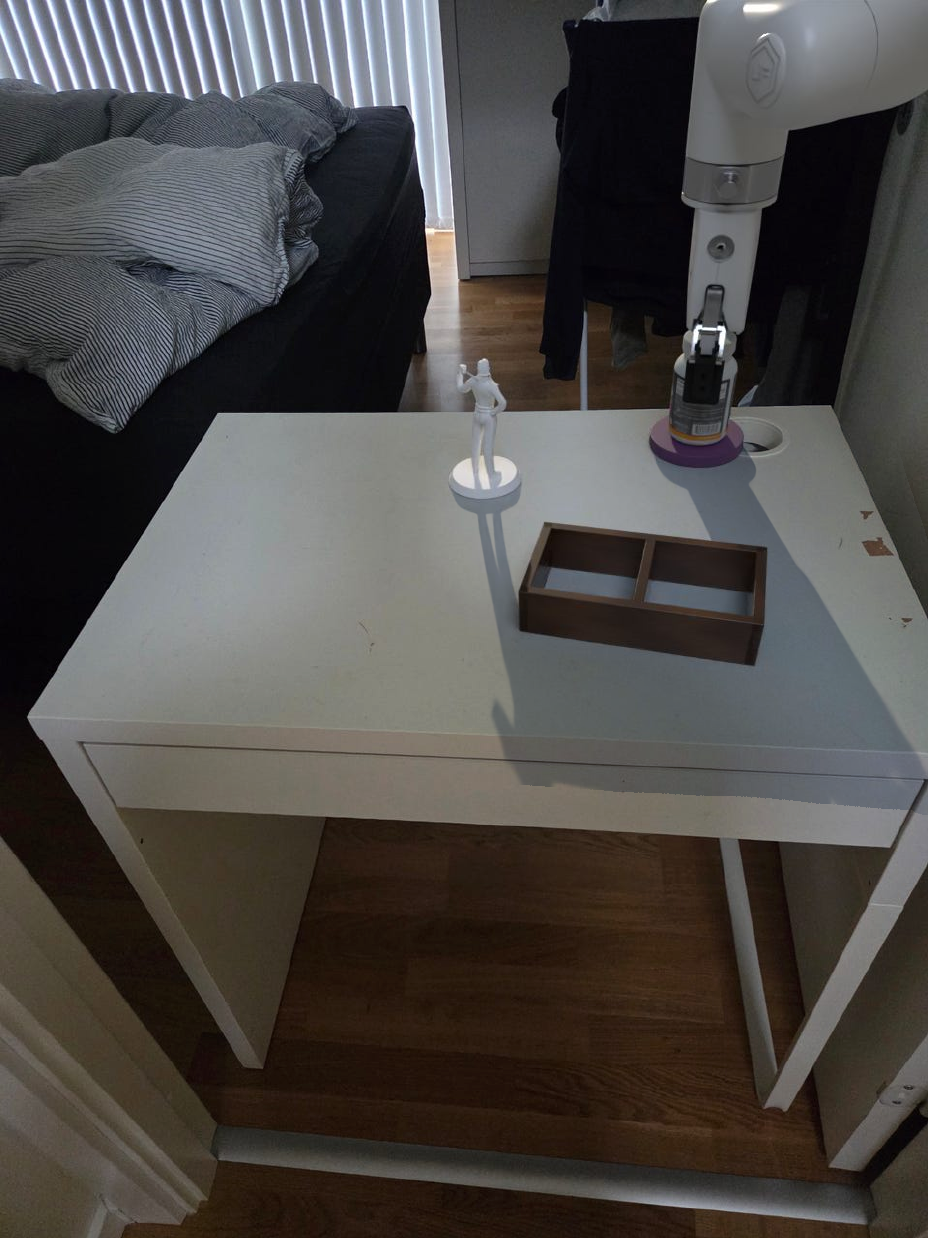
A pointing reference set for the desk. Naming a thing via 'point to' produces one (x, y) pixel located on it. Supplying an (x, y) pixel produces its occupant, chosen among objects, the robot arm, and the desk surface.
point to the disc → (695, 447)
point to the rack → (646, 592)
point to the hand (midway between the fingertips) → (704, 378)
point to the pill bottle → (701, 419)
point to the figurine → (485, 471)
